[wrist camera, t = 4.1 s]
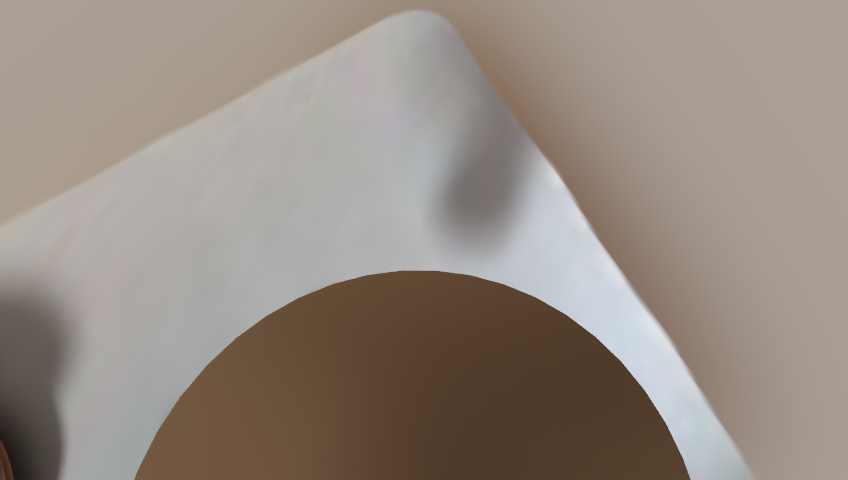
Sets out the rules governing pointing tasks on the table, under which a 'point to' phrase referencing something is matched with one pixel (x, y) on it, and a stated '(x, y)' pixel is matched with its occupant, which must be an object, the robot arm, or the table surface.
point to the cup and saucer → (5, 465)
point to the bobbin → (415, 393)
